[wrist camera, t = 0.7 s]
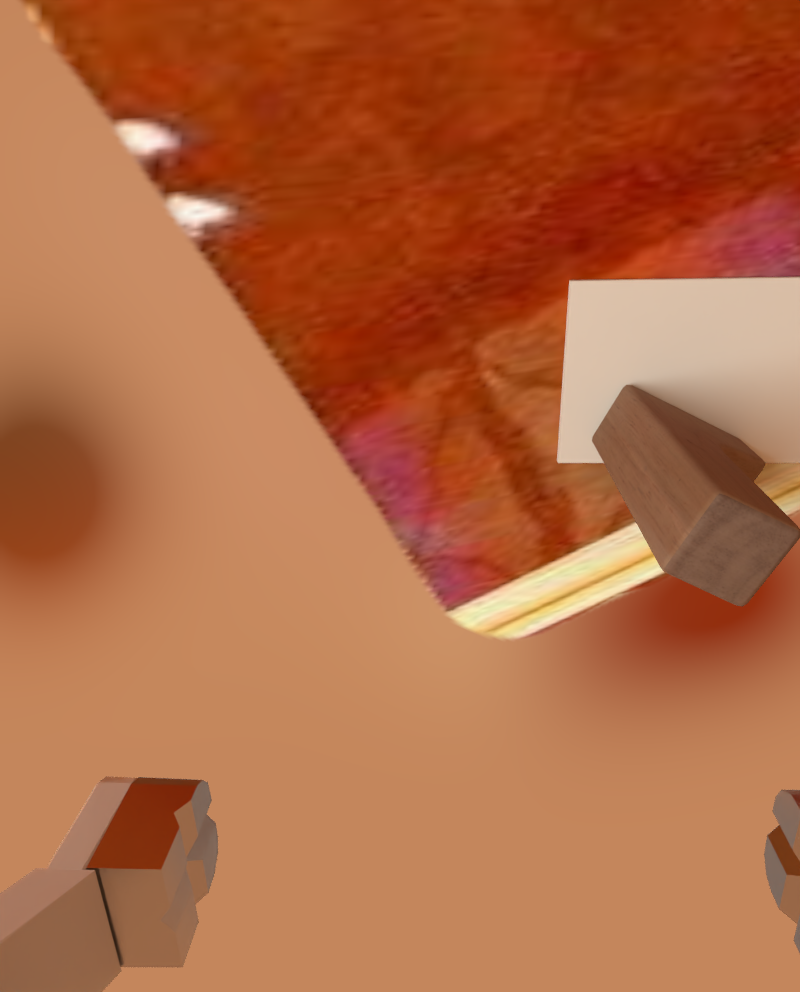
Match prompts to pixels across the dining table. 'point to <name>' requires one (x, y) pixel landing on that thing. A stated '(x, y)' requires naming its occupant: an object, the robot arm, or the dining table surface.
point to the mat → (686, 357)
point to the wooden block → (694, 496)
